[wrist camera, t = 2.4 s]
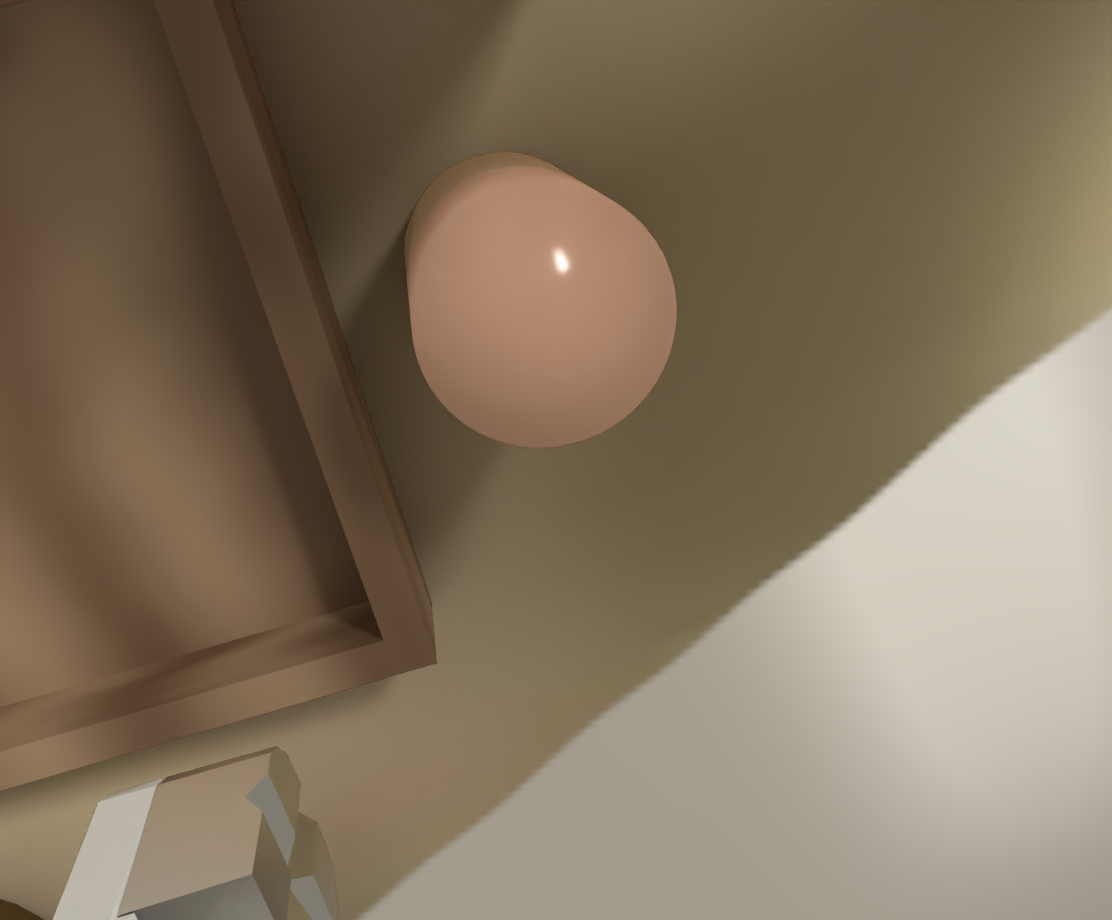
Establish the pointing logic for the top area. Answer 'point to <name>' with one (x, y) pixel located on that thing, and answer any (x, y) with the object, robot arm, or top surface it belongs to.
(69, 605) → the tray
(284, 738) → the top surface
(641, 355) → the peach rounded capsule
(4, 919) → the kendama
